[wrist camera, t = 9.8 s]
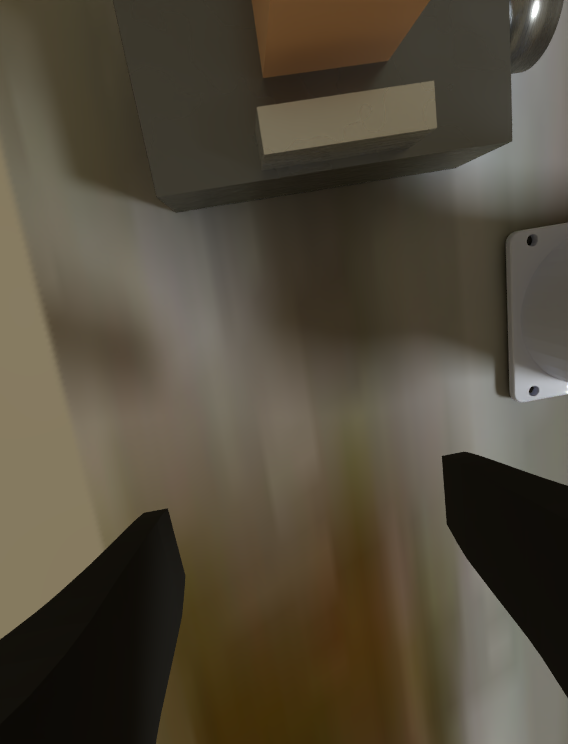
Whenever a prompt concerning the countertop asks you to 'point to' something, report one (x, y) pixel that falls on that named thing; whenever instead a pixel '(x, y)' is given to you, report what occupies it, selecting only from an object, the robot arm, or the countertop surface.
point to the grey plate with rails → (320, 99)
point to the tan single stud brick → (329, 32)
